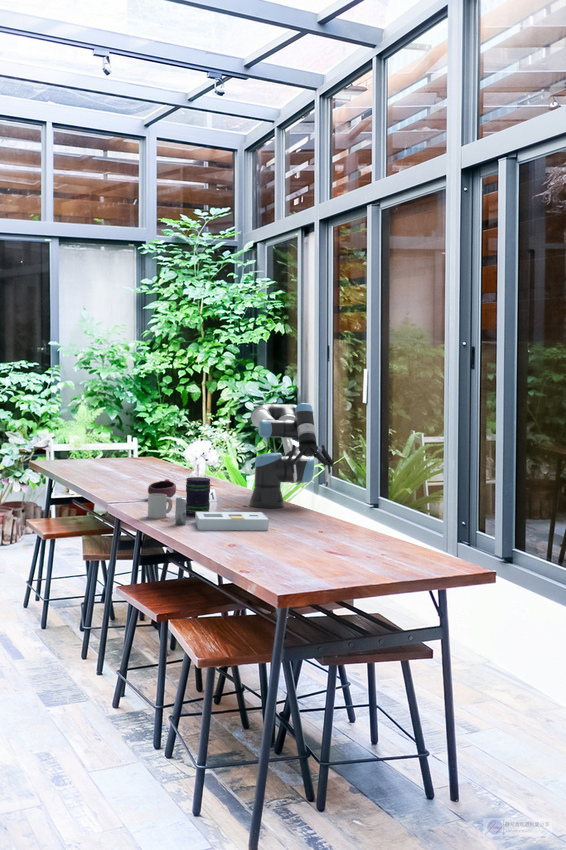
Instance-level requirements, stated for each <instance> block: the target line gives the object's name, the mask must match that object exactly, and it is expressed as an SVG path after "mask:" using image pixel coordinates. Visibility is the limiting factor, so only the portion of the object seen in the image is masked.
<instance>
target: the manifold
mask: <svg viewBox="0 0 566 850" xmlns="http://www.w3.org/2000/svg"><path fill="white" fill-rule="evenodd" d="M194 522H195V525H196V527H197V529H198V530H199V531H269V522H270V519H269V518H268V517H267V516H266V515H265V513H264V512H262V511H255V512H254V511H209V512H196V514H195V517H194Z"/></svg>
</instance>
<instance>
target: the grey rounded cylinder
mask: <svg viewBox="0 0 566 850" xmlns="http://www.w3.org/2000/svg"><path fill="white" fill-rule="evenodd" d="M186 501H187V498H186V497H181V496H180V497H175V516H174V517H175V518H174V525H175V526H186V523H187V516H186Z"/></svg>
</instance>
